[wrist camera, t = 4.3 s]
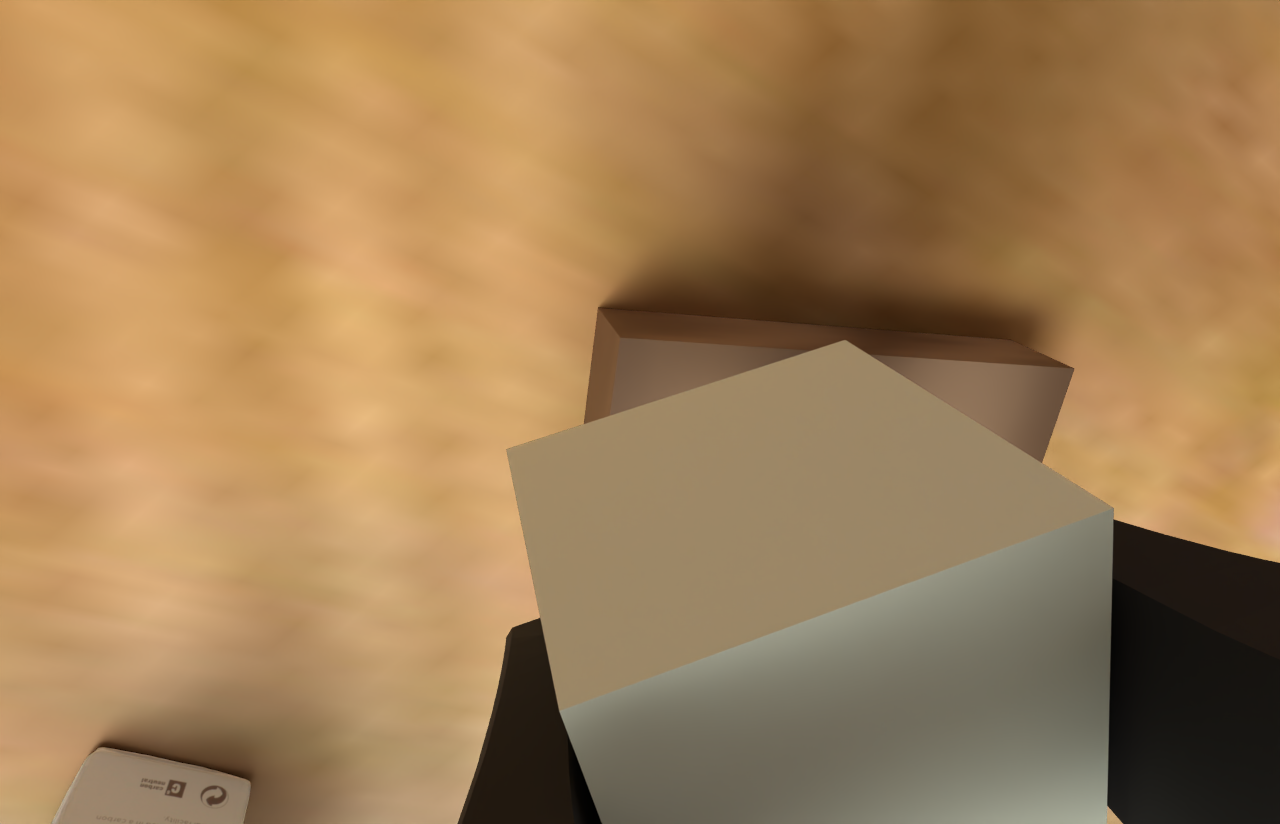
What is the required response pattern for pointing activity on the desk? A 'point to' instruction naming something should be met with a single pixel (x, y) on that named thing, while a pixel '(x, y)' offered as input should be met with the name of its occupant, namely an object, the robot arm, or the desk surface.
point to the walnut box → (724, 347)
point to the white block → (820, 607)
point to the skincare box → (151, 792)
